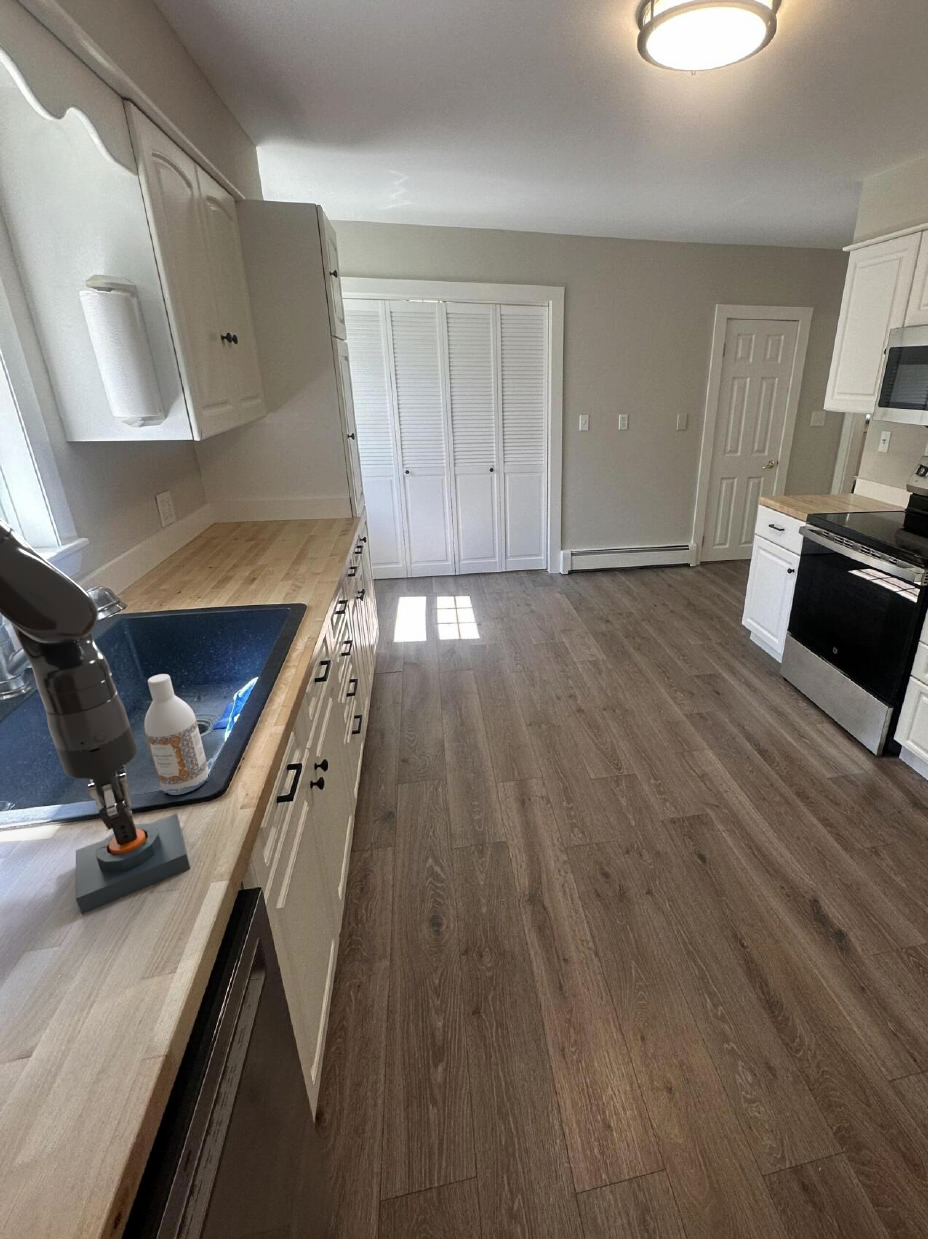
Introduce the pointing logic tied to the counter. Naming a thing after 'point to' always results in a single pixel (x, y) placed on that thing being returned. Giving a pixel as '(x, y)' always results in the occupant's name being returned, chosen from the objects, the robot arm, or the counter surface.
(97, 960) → the counter surface
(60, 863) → the counter surface
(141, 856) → the button base
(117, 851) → the button
